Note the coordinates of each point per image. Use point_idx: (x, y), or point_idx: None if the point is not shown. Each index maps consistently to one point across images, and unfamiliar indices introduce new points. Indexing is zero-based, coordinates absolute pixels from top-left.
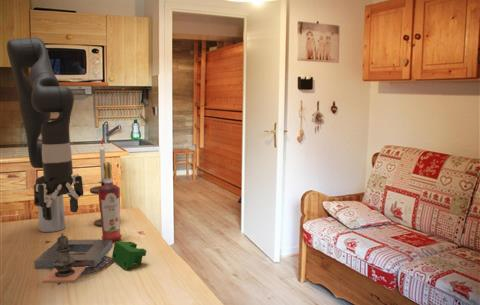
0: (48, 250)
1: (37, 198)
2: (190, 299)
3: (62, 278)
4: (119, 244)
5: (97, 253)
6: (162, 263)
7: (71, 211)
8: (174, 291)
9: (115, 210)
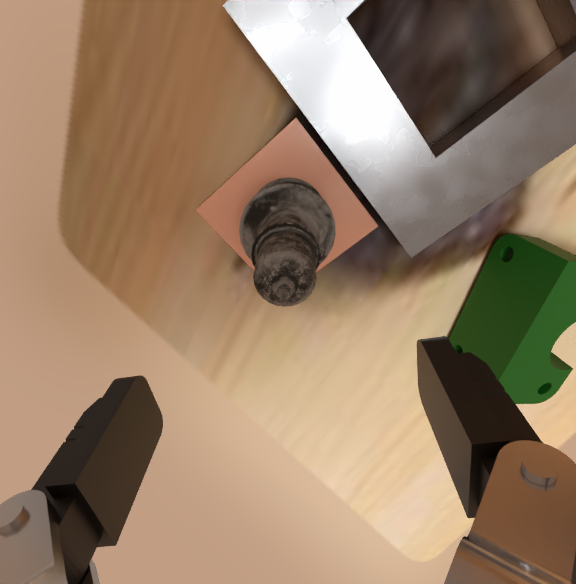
0: None
1: None
2: (397, 543)
3: None
4: (538, 313)
5: (476, 198)
6: None
7: (418, 348)
8: (408, 508)
9: None
